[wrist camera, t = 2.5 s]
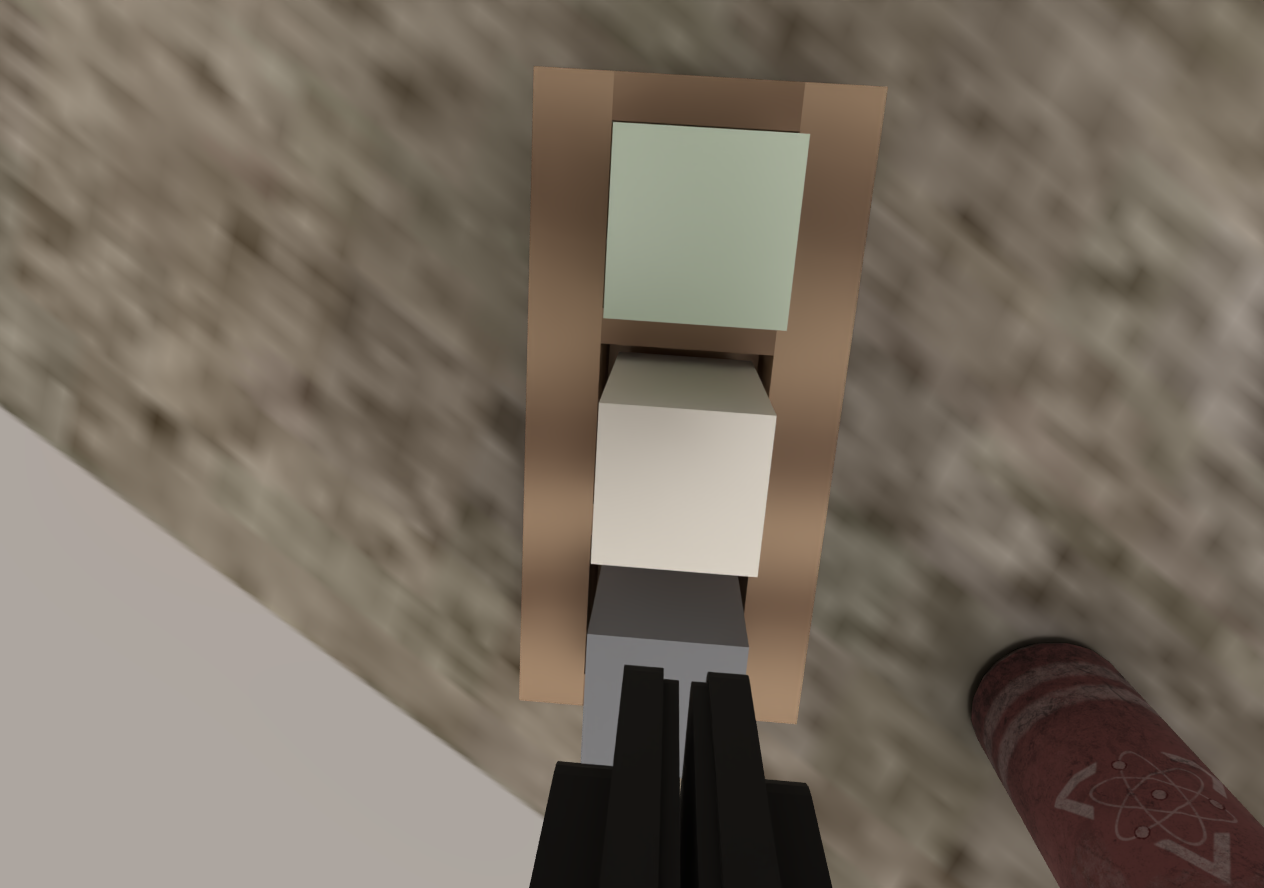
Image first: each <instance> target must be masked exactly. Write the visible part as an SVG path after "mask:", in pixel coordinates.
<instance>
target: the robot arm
mask: <svg viewBox="0 0 1264 888" xmlns="http://www.w3.org/2000/svg"><path fill="white" fill-rule="evenodd" d="M529 888H832V884H831V880H830V876H829V871H828V867H827V862H826V858H825V854H824V849H823V845H822V840H821V836H820V832H819V827H818V823H817V818H816V814H815V810H814V805H813V801H812V796H811V793H810V790H809V787H808V786H807V784H806V783H801V782H789V781H778V780H767V779H765V776H764V770H763V763H762V757H761V750H760V744H759V737H758V731H757V724H756V718H755V711H754V705H753V698H752V692H751V685H750V679H749V676H748V675H744V674H732V673H720V672H708V673H707V677H706V682H696V681H692V682H691V687H690V697H689V707H688V718H687V728H686V739H685V749H684V760H683V770H682V780H681V791H680V751H679V680H672V679H664V668H660V667H648V666H637V665H625V664H624V671H623V680H622V689H621V698H620V706H619V715H618V724H617V733H616V742H615V751H614V760H613V766H607V765H596V764H584V763H573V762H562V761H558V762H557V764H556V767H555V771H554V775H553V779H552V784H551V789H550V793H549V798H548V803H547V807H546V812H545V817H544V821H543V826H542V831H541V835H540V840H539V845H538V850H537V854H536V859H535V863H534V868H533V872H532V877H531V882H530V887H529Z"/></svg>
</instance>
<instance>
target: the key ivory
mask: <svg viewBox="0 0 1264 888" xmlns="http://www.w3.org/2000/svg"><path fill="white" fill-rule="evenodd" d="M776 417H777V415H776V413H775V411H774V409H773V407H772V404H771V402H770V400H769V398H768V396H767V393H766V391H765V389H764V387H763V385H762V382H761V380H760V378H759V376H758V373H757V371H756V369H755V367H754V365H753V362H752V361H744V360H730V359H716V358H702V357H688V356H674V355H660V354H646V353H632V352H619V353H618V356H617V358H616V361H615V363H614V366H613V368H612V371H611V373H610V376H609V378H608V381H607V383H606V386H605V389H604V391H603V394H602V396H601V399H600V401H599V411H598V431H597V451H596V471H595V490H594V510H593V530H592V550H591V564H599V565H611V566H624V567H636V568H649V569H661V570H673V571H686V572H698V573H711V574H723V575H735V576H748V577H758V569H759V560H760V552H761V543H762V535H763V527H764V518H765V510H766V501H767V493H768V484H769V476H770V468H771V459H772V451H773V442H774V434H775V426H776Z"/></svg>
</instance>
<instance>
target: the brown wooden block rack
mask: <svg viewBox="0 0 1264 888" xmlns="http://www.w3.org/2000/svg"><path fill="white" fill-rule="evenodd" d="M887 90H888V87H881V86H864V85H847V84H830V83H813V82H795V81H778V80H761V79H744V78H727V77H710V76H693V75H676V74H659V73H642V72H625V71H608V70H591V69H574V68H557V67H540V66H534V78H533V121H532V165H531V209H530V253H529V297H528V341H527V384H526V428H525V472H524V516H523V560H522V603H521V647H520V691H519V700H525V701H537V702H548V703H560V704H571V705H583V706H584V688H585V668H586V649H587V633H588V628H589V623H590V618H591V614H592V609H593V604H594V600H595V595H596V590H597V585H598V581H599V576H600V571H601V566H602V565H599V564H591V550H592V530H593V510H594V490H595V471H596V451H597V431H598V411H599V401H600V399H601V396H602V394H603V391H604V389H605V386H606V383H607V381H608V378H609V376H610V373H611V371H612V368H613V366H614V363H615V361H616V358H617V356H618V353H619V352H632V353H646V354H660V355H674V356H688V357H702V358H716V359H730V360H744V361H752V362H753V365H754V367H755V369H756V371H757V373H758V376H759V378H760V380H761V382H762V385H763V387H764V389H765V391H766V393H767V396H768V398H769V400H770V402H771V404H772V407H773V409H774V411H775V413H776V415H777V417H776V426H775V434H774V442H773V451H772V459H771V468H770V476H769V484H768V493H767V501H766V510H765V518H764V527H763V535H762V543H761V552H760V560H759V569H758V577H748V576H738V580H739V586H740V593H741V599H742V605H743V612H744V618H745V625H746V631H747V637H748V644H749V653H748V661H747V670H746V675H748V676H749V679H750V685H751V692H752V698H753V705H754V711H755V718H756V721H767V722H778V723H790V724H797V717H798V710H799V703H800V696H801V689H802V682H803V675H804V668H805V661H806V654H807V647H808V640H809V633H810V626H811V619H812V612H813V605H814V598H815V592H816V585H817V578H818V571H819V564H820V557H821V550H822V543H823V536H824V529H825V522H826V515H827V508H828V501H829V494H830V487H831V480H832V473H833V466H834V459H835V452H836V445H837V438H838V431H839V424H840V417H841V410H842V403H843V396H844V389H845V382H846V375H847V368H848V361H849V354H850V347H851V341H852V334H853V327H854V320H855V313H856V306H857V299H858V292H859V285H860V278H861V271H862V264H863V257H864V250H865V243H866V236H867V229H868V222H869V215H870V208H871V201H872V194H873V187H874V180H875V173H876V166H877V159H878V152H879V145H880V138H881V131H882V124H883V117H884V110H885V103H886V96H887ZM613 122H622V123H639V124H655V125H672V126H688V127H704V128H721V129H737V130H754V131H770V132H786V133H803V134H810V140H809V148H808V156H807V165H806V173H805V182H804V190H803V199H802V207H801V215H800V224H799V232H798V241H797V249H796V257H795V266H794V274H793V283H792V291H791V299H790V308H789V316H788V325H787V331H781V330H767V329H752V328H738V327H724V326H709V325H695V324H681V323H666V322H652V321H637V320H623V319H609V318H603V313H604V293H605V273H606V253H607V233H608V214H609V194H610V174H611V154H612V135H613Z"/></svg>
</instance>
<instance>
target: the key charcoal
mask: <svg viewBox="0 0 1264 888" xmlns="http://www.w3.org/2000/svg"><path fill="white" fill-rule="evenodd" d="M748 653H749V644H748V637H747V631H746V625H745V618H744V612H743V605H742V599H741V593H740V586H739V580H738V576H735V575H723V574H711V573H698V572H686V571H673V570H661V569H649V568H636V567H624V566H611V565H602V566H601V571H600V576H599V581H598V585H597V590H596V595H595V600H594V604H593V609H592V614H591V618H590V623H589V628H588V633H587V649H586V668H585V688H584V708H583V728H582V747H581V763H584V764H596V765H607V766H613V760H614V751H615V742H616V733H617V724H618V715H619V706H620V698H621V689H622V680H623V671H624V664H625V665H637V666H648V667H660V668H664V679H672V680H679V751H680V778H682V770H683V760H684V749H685V739H686V728H687V718H688V707H689V697H690V687H691V682H692V681H696V682H706V677H707V673H708V672H720V673H732V674H744V675H746V670H747V661H748Z"/></svg>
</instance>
